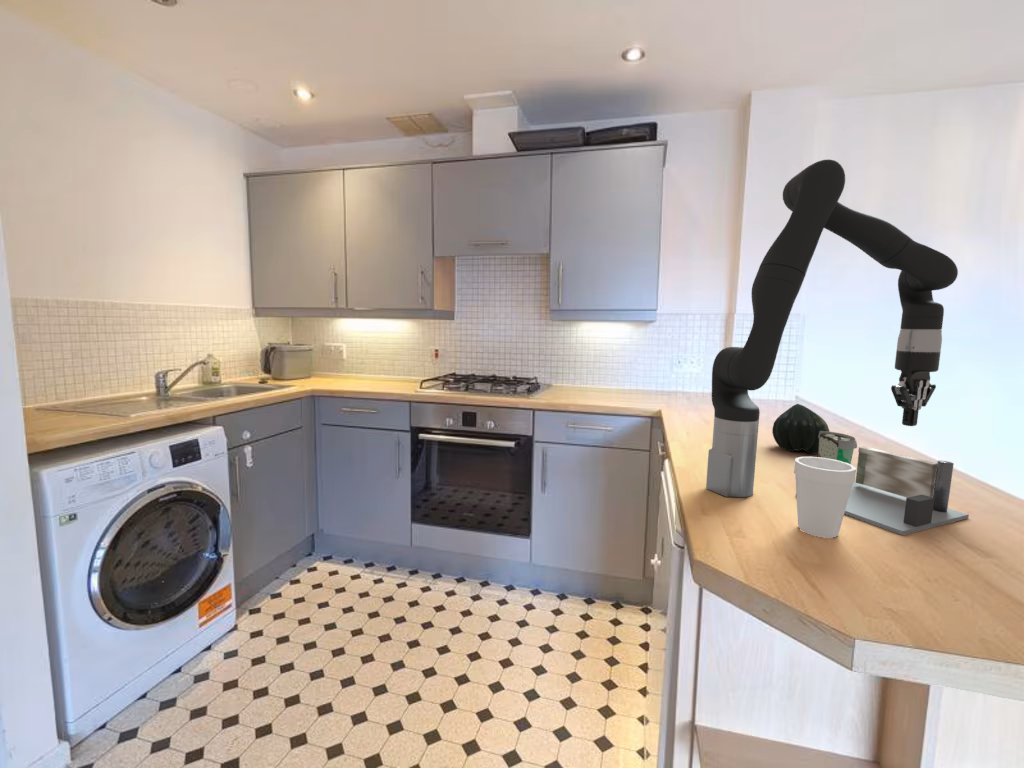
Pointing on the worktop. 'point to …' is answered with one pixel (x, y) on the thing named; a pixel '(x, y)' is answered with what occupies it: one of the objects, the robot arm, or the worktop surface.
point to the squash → (799, 429)
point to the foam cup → (822, 494)
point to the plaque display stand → (905, 506)
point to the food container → (836, 446)
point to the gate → (895, 473)
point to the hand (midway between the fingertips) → (909, 425)
